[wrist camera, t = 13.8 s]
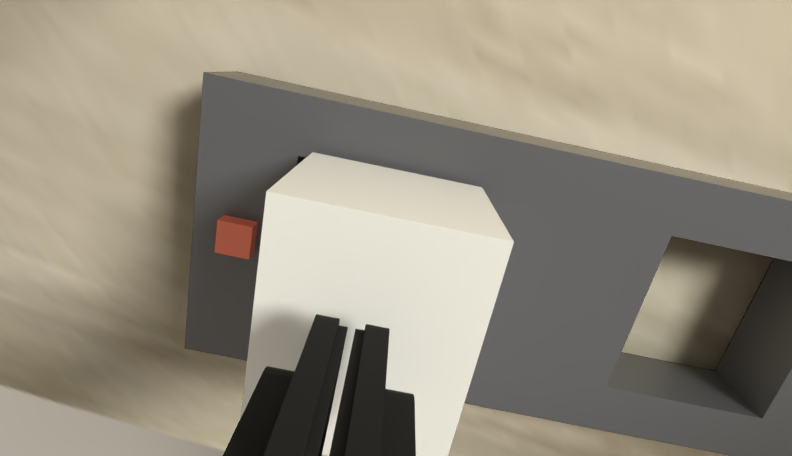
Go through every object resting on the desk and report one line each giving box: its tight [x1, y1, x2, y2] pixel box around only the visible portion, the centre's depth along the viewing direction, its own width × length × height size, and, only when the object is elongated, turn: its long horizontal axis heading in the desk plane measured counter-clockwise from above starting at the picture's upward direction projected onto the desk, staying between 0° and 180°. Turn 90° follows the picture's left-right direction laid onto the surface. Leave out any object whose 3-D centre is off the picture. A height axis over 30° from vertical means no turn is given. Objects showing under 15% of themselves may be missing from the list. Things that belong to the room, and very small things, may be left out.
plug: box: [241, 152, 514, 456], centre depth 15 cm, size 6×7×8 cm
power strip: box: [185, 72, 792, 456], centre depth 18 cm, size 26×10×4 cm, turn 78°
